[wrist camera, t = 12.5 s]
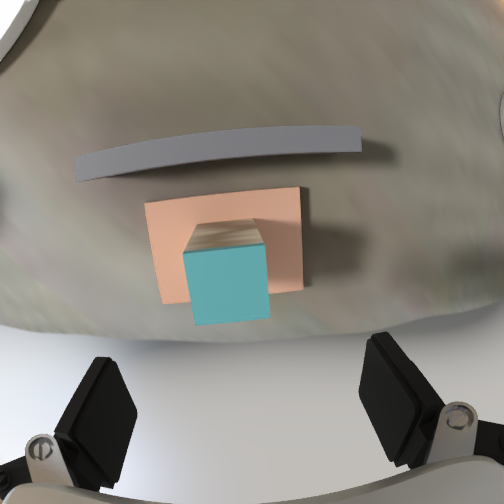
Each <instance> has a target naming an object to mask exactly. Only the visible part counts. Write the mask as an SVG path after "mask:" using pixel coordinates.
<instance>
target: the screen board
mask: <svg viewBox="0 0 504 504" xmlns="http://www.w3.org/2000/svg"><path fill="white" fill-rule="evenodd" d="M346 152H362V144H361V131H360V126H330V125H309V126H275V127H257V128H243V129H231V130H221V131H212V132H203V133H195V134H187V135H180V136H174V137H167V138H161V139H155V140H150V141H144V142H139V143H134V144H129V145H124V146H119V147H114V148H110V149H105V150H101V151H97V152H93V153H89V154H85V155H81V156H77V157H74V165H75V174H76V182H82V181H88V180H93V179H100V178H106V177H111V176H116V175H121V174H126V173H132V172H138V171H143V170H149V169H156V168H162V167H169V166H175V165H183V164H190V163H198V162H206V161H215V160H225V159H235V158H246V157H259V156H273V155H291V154H318V153H346Z"/></svg>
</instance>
